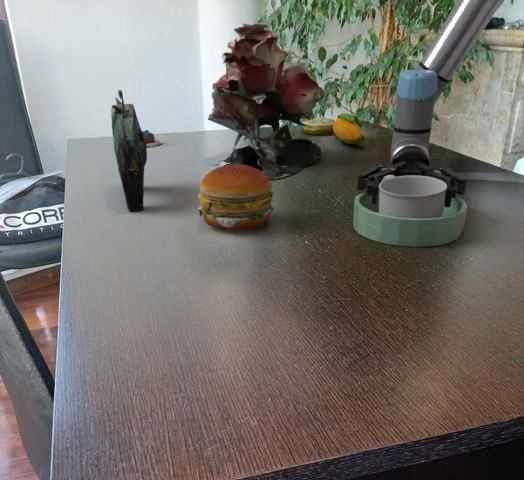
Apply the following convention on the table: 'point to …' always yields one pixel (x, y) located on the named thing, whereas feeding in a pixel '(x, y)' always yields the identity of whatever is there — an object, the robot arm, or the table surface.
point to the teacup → (412, 196)
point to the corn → (348, 129)
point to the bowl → (408, 224)
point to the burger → (236, 198)
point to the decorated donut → (319, 126)
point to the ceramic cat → (129, 152)
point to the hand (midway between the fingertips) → (411, 197)
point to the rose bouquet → (265, 102)
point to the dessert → (150, 139)
